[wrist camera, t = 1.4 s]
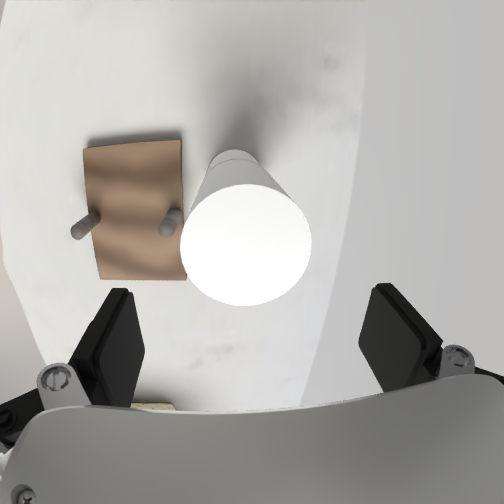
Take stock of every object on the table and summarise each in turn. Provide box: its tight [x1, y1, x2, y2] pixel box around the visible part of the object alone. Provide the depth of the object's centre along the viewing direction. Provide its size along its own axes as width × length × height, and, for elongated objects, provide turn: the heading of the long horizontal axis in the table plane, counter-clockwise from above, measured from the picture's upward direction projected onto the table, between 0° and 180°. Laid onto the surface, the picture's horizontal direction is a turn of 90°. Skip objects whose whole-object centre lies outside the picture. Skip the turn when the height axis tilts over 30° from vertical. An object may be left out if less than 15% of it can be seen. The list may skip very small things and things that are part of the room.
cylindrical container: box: [180, 149, 311, 306], centre depth 27 cm, size 7×7×25 cm
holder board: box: [71, 140, 187, 280], centre depth 36 cm, size 20×14×8 cm
